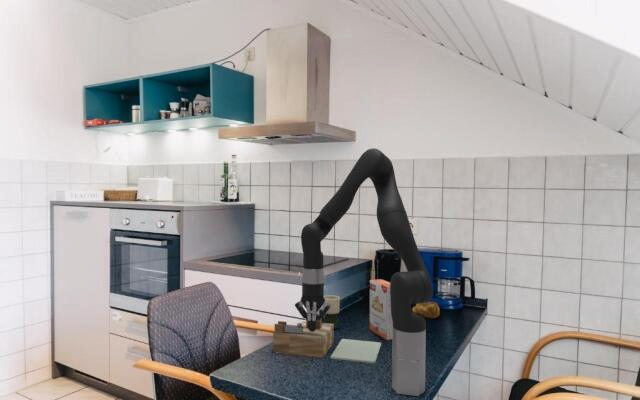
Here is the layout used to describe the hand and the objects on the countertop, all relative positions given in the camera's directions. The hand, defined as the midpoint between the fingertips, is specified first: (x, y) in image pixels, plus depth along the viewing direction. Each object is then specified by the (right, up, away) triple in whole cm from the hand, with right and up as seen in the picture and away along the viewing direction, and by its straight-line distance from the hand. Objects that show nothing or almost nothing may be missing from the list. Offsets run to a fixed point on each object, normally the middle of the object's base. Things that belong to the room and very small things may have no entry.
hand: (312, 330), depth 144 cm
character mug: (+7, -9, +30) cm, 32 cm away
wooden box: (-3, -8, +7) cm, 11 cm away
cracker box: (+28, -9, +22) cm, 37 cm away
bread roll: (+52, -9, +50) cm, 73 cm away
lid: (0, -3, +6) cm, 7 cm away
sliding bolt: (-7, -1, +2) cm, 8 cm away
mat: (+16, -8, +4) cm, 18 cm away
